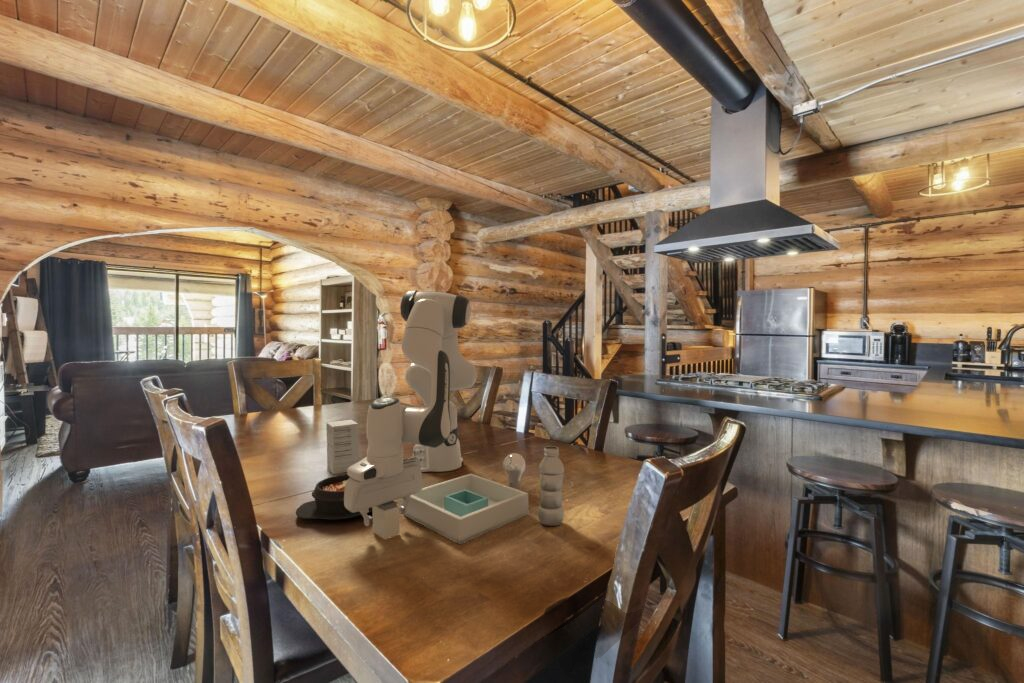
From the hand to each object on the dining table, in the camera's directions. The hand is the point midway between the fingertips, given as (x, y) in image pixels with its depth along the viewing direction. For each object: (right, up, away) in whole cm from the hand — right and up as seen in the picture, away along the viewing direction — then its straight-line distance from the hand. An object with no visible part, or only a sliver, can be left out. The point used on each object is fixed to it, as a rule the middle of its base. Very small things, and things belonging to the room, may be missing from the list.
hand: (385, 518), depth 115 cm
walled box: (+19, -3, +11) cm, 22 cm away
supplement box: (-30, -2, +51) cm, 59 cm away
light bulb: (+32, -3, +29) cm, 43 cm away
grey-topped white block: (0, -4, 0) cm, 4 cm away
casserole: (-15, -3, +13) cm, 20 cm away
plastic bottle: (+42, -4, +5) cm, 42 cm away
